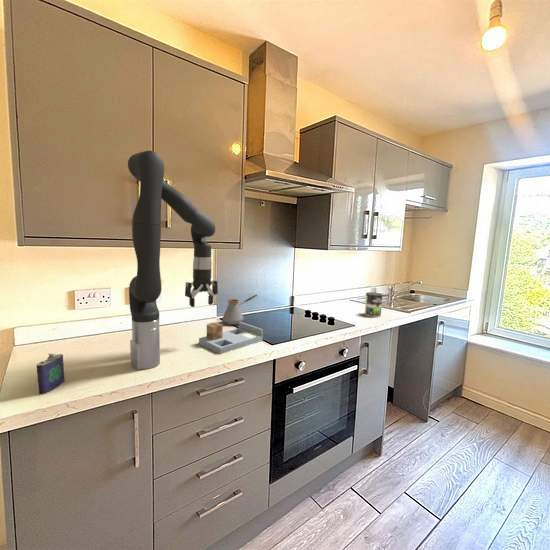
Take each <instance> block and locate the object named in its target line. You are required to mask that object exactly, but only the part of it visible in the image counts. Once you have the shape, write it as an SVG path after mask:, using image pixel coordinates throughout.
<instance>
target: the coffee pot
mask: <svg viewBox="0 0 550 550" xmlns="http://www.w3.org/2000/svg"><path fill="white" fill-rule="evenodd" d="M254 298H257V299H258V298H259V296H258V294H255V295H252V296H249V298H247V299H245V300H244V301H242V302H240V300H239V299H234V298H232V299H228V300H227V303H228V305H227V307H226V309H225V312H224V314H223V316H222V320H223V322H224V323H225V324H226V325H227V326H228V325H229V326H237V325H238V326H239V322H243V321H244V315H243V314H242V311H241V309H240V306H241V305H243V304H244V303H247V302H248V301H250V300H253V299H254Z"/></svg>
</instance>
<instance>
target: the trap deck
mask: <svg viewBox="0 0 550 550" xmlns="http://www.w3.org/2000/svg"><path fill="white" fill-rule="evenodd" d="M263 336H264V329H263V328H260V327H257V326H254V325H251V324H248V323H245V322H243V321H242V322H239V324H238V327H237V328H234V329H230V330H225V331H223V335H222V338H220V339H217V340H211V339H209V338H207V335H206V336H202V337H199V338H198V344H199V345H201V346H203V347H205V348H207V349H209V350H212V351H214V352H215V353H218V354H220V355H221V354H225V353H228V351H229V352H232V351H235V350H237V349H240V348H244V347H247V345H248V346H250V344H251V345H254V344H256V342H257V343H259V341H260V342H262V341H261V340H263V341H264V339H263V338H264V337H263ZM253 343H254V344H253ZM231 350H232V351H231Z"/></svg>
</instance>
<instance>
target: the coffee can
mask: <svg viewBox="0 0 550 550" xmlns="http://www.w3.org/2000/svg"><path fill="white" fill-rule="evenodd" d="M383 296H384V294H383V293H380V292H371V291H370V292H368V291H367V292H365V307H364V315H365V316H367V317H371V318H379V317H382V306H383Z"/></svg>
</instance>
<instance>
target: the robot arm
mask: <svg viewBox="0 0 550 550" xmlns="http://www.w3.org/2000/svg"><path fill="white" fill-rule="evenodd" d="M127 168H128V171H129V173H130V174H131V176H133V177H134V178H135V179H136V180H137V181H139V182H140V184H139V185H140V190H139V191H140V192H139V196H138V200H137V203H136V206H135V208H134V210H133V213H132V214H133V215H132V219H131V220H132V222H131V224H132V225H131V227H132V228H131V235H132V236H131V238H132V243H133V248H134V254H135V256H136V263H137V264H136V265H137V269H136V270H137V271H136V276H134V277H133V278H132V279H131V280H130V282H129V286H128V297H129V310H130V315H131V335H132V336H131V339H130V342H129V345H130V349H129V350H130V366H132V367H133V368H134V369H136V370H137V371H139V370H148V369H153V368H155V367H157V366H159V365H160V364H161V350H160V349H161V347H160V346H161V341H160V339H161V338H160V337H161V336H160V335H161V334H160V330H161V329H160V311H159V307H158V304H157V300H158V299H159V297H160V295H161V294H162V279H161V278H162V277H161V267H160V266H161V265H160V261H161V260H160V259H161V258H160V257H161V236H162V219H161V218H162V200H163V202H165V203H166V204H167V205H168V206H169V207H170V208H171V209H172V210H173V212H175V213H176V214H177V215H178V216H179V218H180V219H182V220H183V221H184V222H185V223H187V224H191V225H190V235H191V239H192V244H193V262H192V279H193V280H192V281H191V282H188V281H186V282H185V289H184V290H185V291H184V296H185V297H187V298H188V300H189V306H190V307H191V308H194V307H195V303H196V302H195V300H196V298H195V297H196V296H197V295H198V293H203V292H204V293H207V294H208V296H207V298H208V301H207V304H208V305H209V306H211V305H213V303H214V297H215V295H218V293H219V292H218V289H219V288H218V280H216V279H215V280H212V267H213V266H212V265H213V264H212V245H211V244H210V243H208V242H207V238H210V237H212V236H214V235H215V234H216V225H215V223H214V222H213V220H212V219H211V218H210V217H208V216H207V215H206V214H205V213H203V212H202V211H200V210H199V209H198V208H197V207H196V206H195V205H194V204H193V202H192V201H191V200H190V199H189V198H188V197H187V196H186V195H184V194H183V193H182V192H181V191H179V190H177V189H176V188H175V187H173V186H171V185H170V184H169V183H168V182H167V181H165V179H164V178H165V177H164V176H165V165H164V160H163V158H162V157H161V155H160V154H159V153H158V152H156V151H154V150H145V151H140V152H137V153H134V154H132V155H130V157H129V158H128V160H127ZM192 287H193V288H192ZM211 287H212V288H211Z"/></svg>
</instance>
